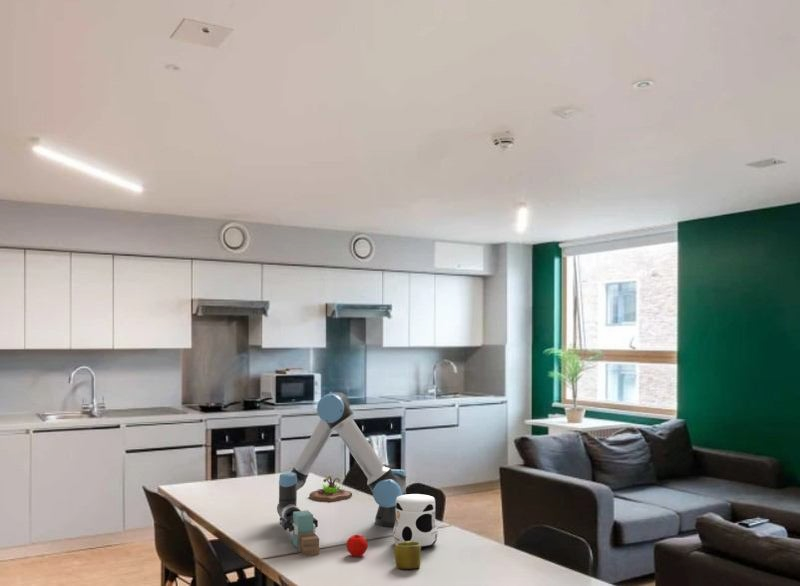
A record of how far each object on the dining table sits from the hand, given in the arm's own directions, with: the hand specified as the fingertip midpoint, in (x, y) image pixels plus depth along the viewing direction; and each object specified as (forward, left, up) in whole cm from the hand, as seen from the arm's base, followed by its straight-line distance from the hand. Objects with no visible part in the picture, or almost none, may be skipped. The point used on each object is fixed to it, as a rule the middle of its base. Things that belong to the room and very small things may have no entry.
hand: (305, 529), depth 270 cm
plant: (+20, -86, -8) cm, 88 cm away
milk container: (-40, -16, -7) cm, 43 cm away
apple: (-22, +3, -7) cm, 23 cm away
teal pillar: (+3, -4, -7) cm, 8 cm away
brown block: (-3, +4, -7) cm, 8 cm away
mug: (-43, +9, -7) cm, 44 cm away
